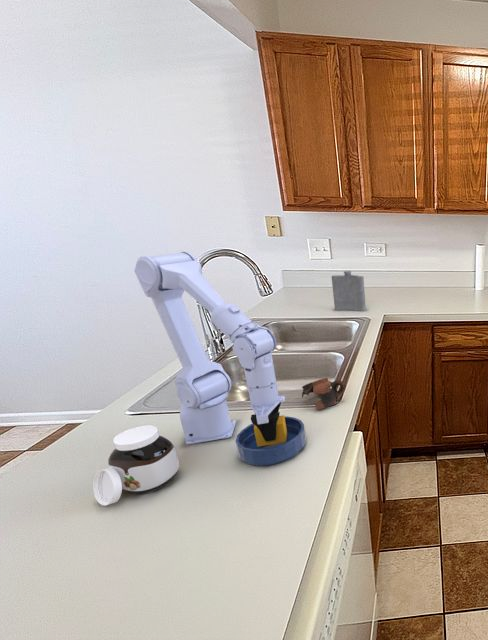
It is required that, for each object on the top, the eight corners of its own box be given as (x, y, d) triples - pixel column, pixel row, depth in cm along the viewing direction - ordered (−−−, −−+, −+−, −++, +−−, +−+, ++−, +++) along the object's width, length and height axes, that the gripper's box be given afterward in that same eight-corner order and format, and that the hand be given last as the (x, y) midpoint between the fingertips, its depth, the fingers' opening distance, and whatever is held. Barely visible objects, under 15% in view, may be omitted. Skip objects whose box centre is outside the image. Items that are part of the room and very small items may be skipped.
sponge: (257, 447, 90) (253, 428, 88) (259, 437, 94) (255, 419, 92) (286, 442, 92) (283, 423, 91) (287, 432, 96) (284, 414, 94)
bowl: (234, 473, 85) (230, 456, 84) (244, 437, 97) (241, 422, 96) (306, 459, 90) (303, 443, 89) (306, 427, 103) (304, 412, 101)
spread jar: (188, 470, 86) (175, 424, 82) (149, 509, 75) (132, 458, 71) (131, 470, 85) (115, 423, 81) (83, 509, 75) (62, 458, 70)
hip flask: (334, 310, 204) (329, 271, 197) (336, 308, 207) (332, 270, 200) (365, 311, 204) (362, 272, 197) (367, 308, 208) (364, 270, 201)
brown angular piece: (306, 415, 109) (295, 387, 109) (312, 413, 118) (302, 387, 118) (349, 398, 112) (339, 371, 112) (351, 397, 121) (342, 372, 121)
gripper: (279, 394, 83) (288, 448, 88) (283, 367, 95) (291, 416, 100) (241, 399, 80) (252, 455, 85) (250, 371, 93) (260, 421, 98)
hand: (271, 434), depth 92 cm, fingers closed on sponge, 4 cm apart
